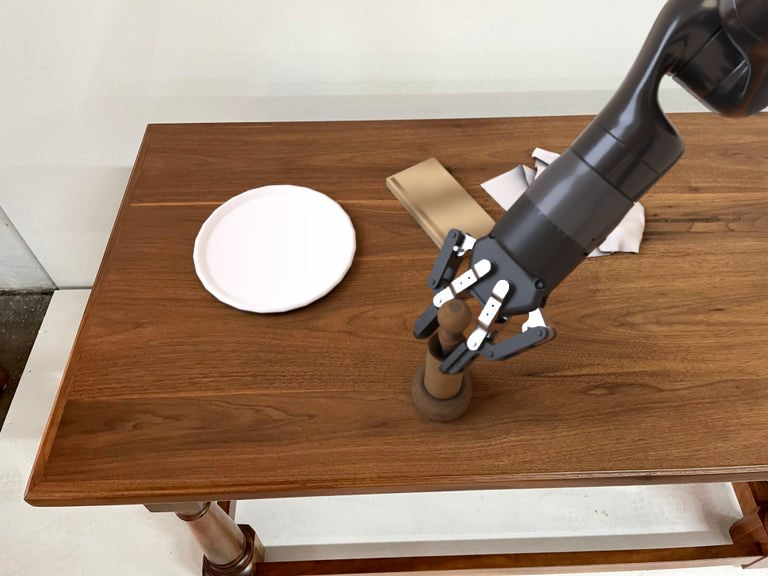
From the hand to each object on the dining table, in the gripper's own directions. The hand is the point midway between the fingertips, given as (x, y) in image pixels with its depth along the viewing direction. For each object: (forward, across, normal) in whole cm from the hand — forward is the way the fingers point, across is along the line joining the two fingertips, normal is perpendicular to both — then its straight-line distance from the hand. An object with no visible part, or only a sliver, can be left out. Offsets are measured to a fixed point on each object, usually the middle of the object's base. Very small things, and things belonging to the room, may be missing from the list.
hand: (432, 353), depth 57 cm
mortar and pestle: (+7, 0, +10) cm, 12 cm away
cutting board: (-4, -22, +20) cm, 30 cm away
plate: (+12, -28, +5) cm, 31 cm away
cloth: (-14, -14, +31) cm, 37 cm away
